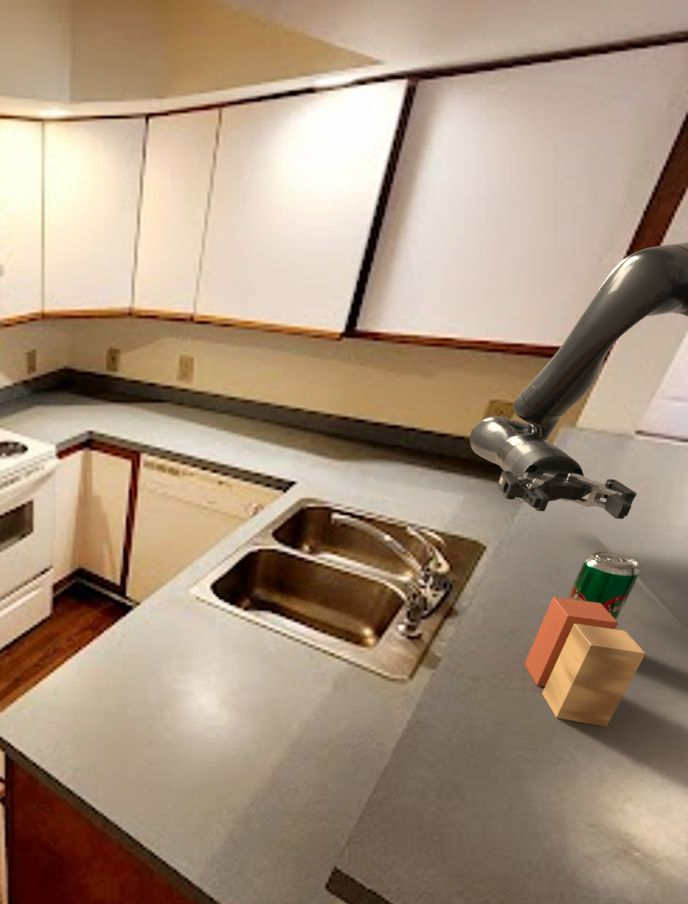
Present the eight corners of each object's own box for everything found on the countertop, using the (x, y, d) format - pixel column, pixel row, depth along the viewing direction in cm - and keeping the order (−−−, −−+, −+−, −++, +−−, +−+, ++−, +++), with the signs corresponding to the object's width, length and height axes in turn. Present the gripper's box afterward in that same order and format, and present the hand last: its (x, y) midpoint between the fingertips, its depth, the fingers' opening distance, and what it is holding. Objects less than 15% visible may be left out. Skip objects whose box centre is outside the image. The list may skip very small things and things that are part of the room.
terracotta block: (568, 671, 77) (600, 602, 72) (583, 693, 73) (618, 622, 69) (524, 664, 78) (553, 596, 74) (536, 685, 75) (568, 615, 70)
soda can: (547, 624, 86) (581, 547, 80) (595, 632, 84) (633, 553, 78) (559, 644, 82) (595, 564, 76) (610, 653, 80) (651, 571, 74)
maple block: (589, 702, 72) (625, 630, 68) (606, 727, 68) (646, 653, 64) (541, 693, 74) (573, 623, 69) (556, 717, 70) (591, 645, 66)
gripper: (493, 443, 100) (528, 478, 87) (607, 451, 95) (664, 489, 81) (478, 486, 103) (509, 526, 90) (588, 496, 98) (638, 540, 85)
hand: (583, 508), depth 86 cm, fingers open, 8 cm apart
